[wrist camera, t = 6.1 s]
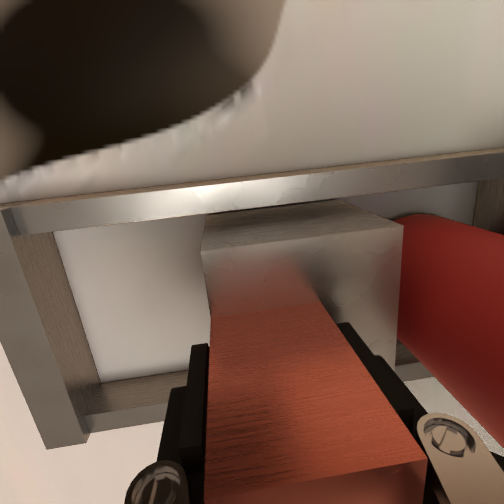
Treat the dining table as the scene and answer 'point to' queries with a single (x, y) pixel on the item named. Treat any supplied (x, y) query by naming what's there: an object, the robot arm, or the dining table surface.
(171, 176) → the dining table surface
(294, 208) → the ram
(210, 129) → the dining table surface
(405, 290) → the beer can
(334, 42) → the dining table surface
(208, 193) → the press frame
